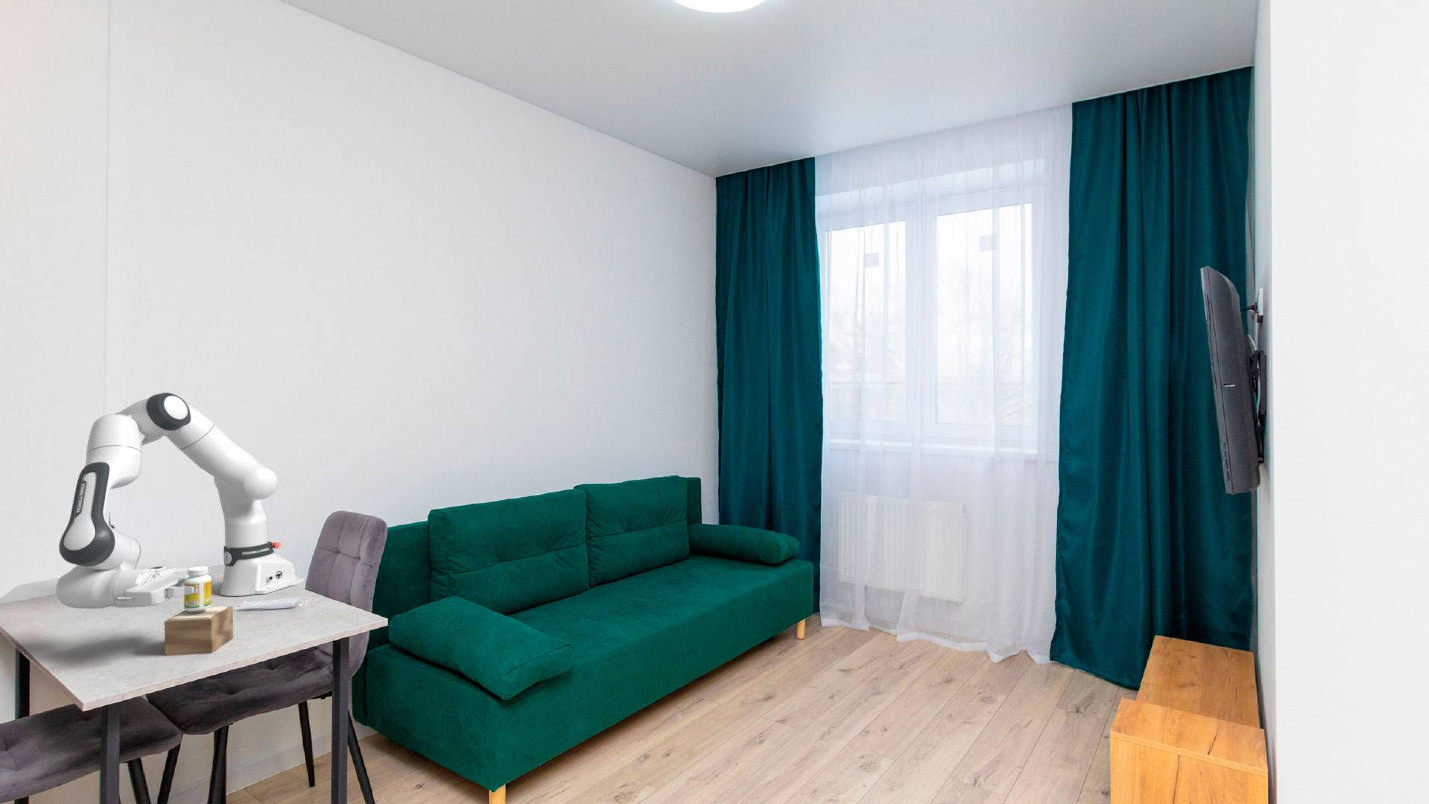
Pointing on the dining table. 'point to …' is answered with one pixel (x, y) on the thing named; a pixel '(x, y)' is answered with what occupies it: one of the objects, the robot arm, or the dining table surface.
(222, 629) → the walnut block
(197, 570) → the supplement bottle
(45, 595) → the dining table surface
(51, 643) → the dining table surface
